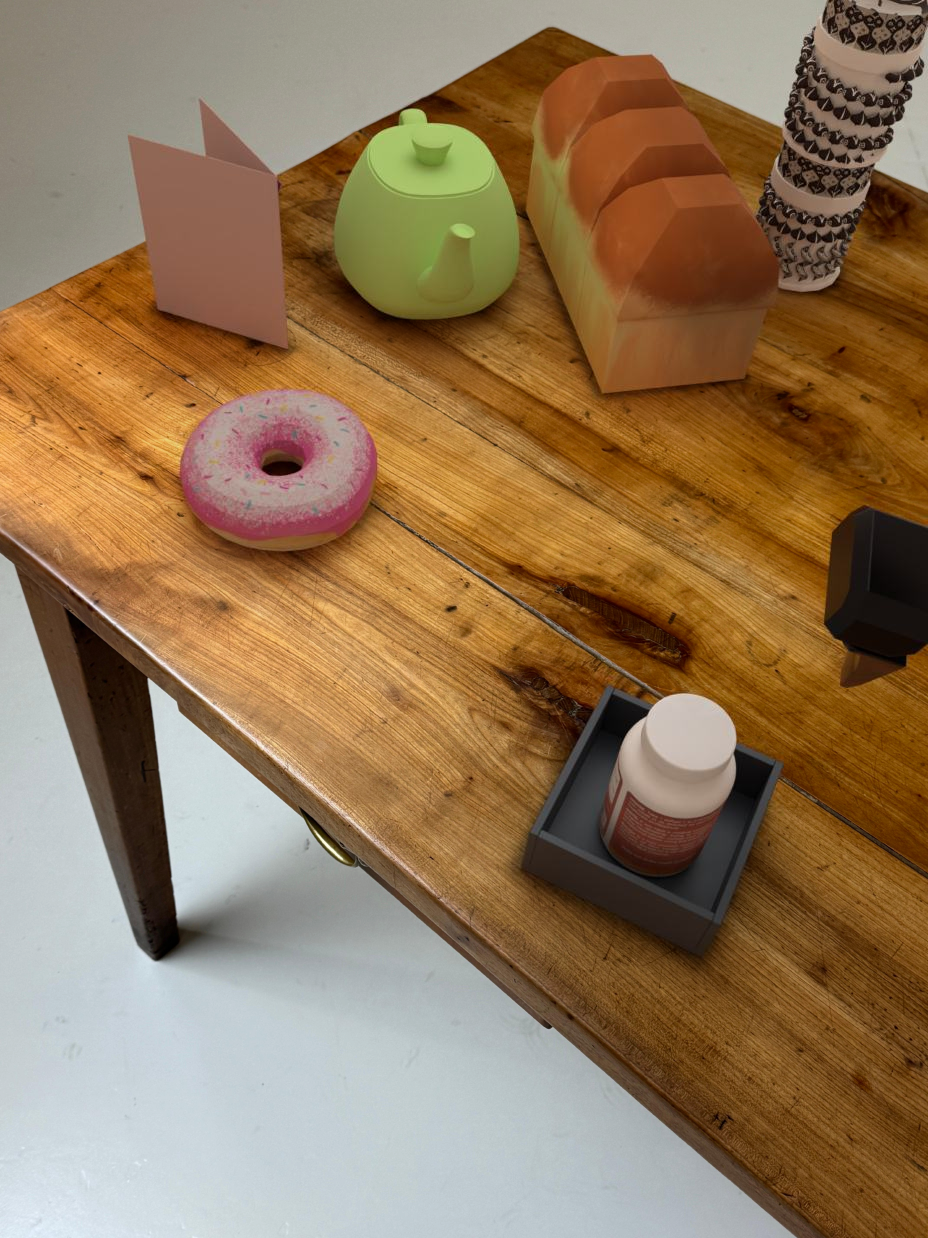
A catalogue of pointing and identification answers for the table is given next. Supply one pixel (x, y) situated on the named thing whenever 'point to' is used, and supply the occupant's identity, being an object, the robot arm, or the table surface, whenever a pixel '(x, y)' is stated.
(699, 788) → the pill bottle
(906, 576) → the robot arm
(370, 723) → the table surface
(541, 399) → the table surface
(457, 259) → the teapot
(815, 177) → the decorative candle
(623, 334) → the bread
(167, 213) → the greeting card
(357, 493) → the donut
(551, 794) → the bin
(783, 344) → the table surface
